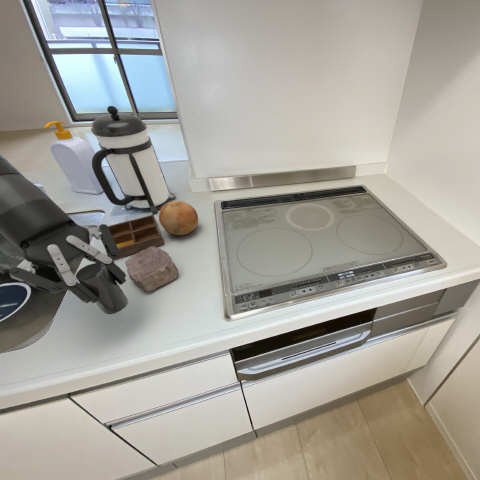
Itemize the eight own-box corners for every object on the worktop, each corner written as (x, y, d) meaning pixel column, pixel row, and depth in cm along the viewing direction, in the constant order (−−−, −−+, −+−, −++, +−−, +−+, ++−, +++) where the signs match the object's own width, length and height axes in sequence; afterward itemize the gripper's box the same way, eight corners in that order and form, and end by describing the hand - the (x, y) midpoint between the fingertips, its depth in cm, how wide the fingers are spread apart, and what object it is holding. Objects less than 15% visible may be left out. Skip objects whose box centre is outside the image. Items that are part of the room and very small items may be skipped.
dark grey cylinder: (102, 318, 45) (75, 284, 40) (101, 302, 48) (75, 268, 42) (129, 308, 47) (106, 274, 42) (126, 293, 50) (105, 259, 44)
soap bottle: (73, 193, 90) (29, 123, 75) (89, 184, 95) (51, 117, 81) (97, 196, 89) (58, 126, 75) (112, 186, 95) (78, 119, 80)
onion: (200, 219, 82) (191, 191, 75) (202, 237, 75) (194, 208, 69) (165, 225, 78) (154, 196, 72) (165, 245, 71) (152, 215, 65)
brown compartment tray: (111, 261, 66) (106, 252, 64) (108, 235, 73) (103, 227, 72) (164, 244, 72) (161, 236, 70) (156, 222, 79) (153, 214, 77)
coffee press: (122, 198, 89) (73, 101, 70) (173, 189, 95) (141, 98, 76) (121, 225, 77) (63, 118, 58) (179, 213, 84) (144, 112, 65)
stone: (124, 270, 63) (115, 257, 61) (161, 253, 69) (155, 239, 66) (145, 297, 58) (137, 283, 55) (184, 275, 63) (178, 262, 60)
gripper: (-51, 226, 32) (63, 321, 36) (75, 182, 43) (153, 260, 47) (-37, 245, 37) (62, 327, 41) (73, 201, 47) (143, 270, 51)
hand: (110, 291), depth 44 cm, fingers closed on dark grey cylinder, 4 cm apart
